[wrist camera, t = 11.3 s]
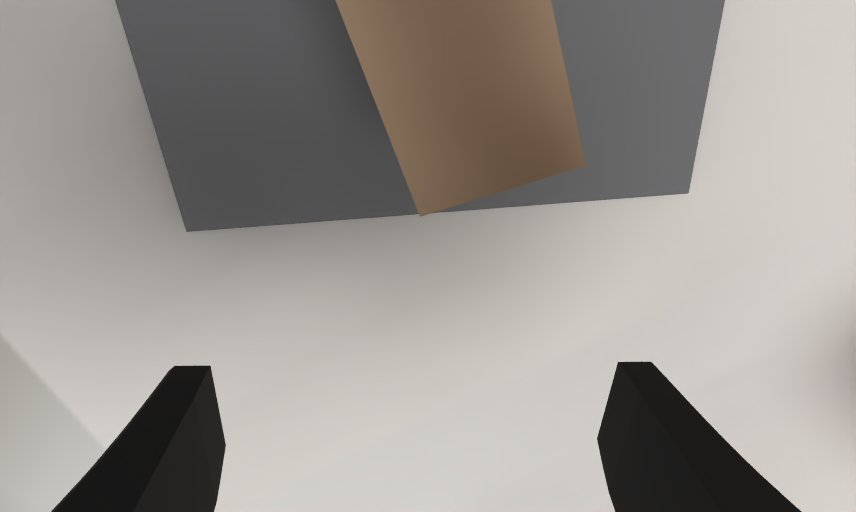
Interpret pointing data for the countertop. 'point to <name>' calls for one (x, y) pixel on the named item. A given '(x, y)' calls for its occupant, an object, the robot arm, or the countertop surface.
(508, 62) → the walnut block
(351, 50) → the mat
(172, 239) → the countertop surface
